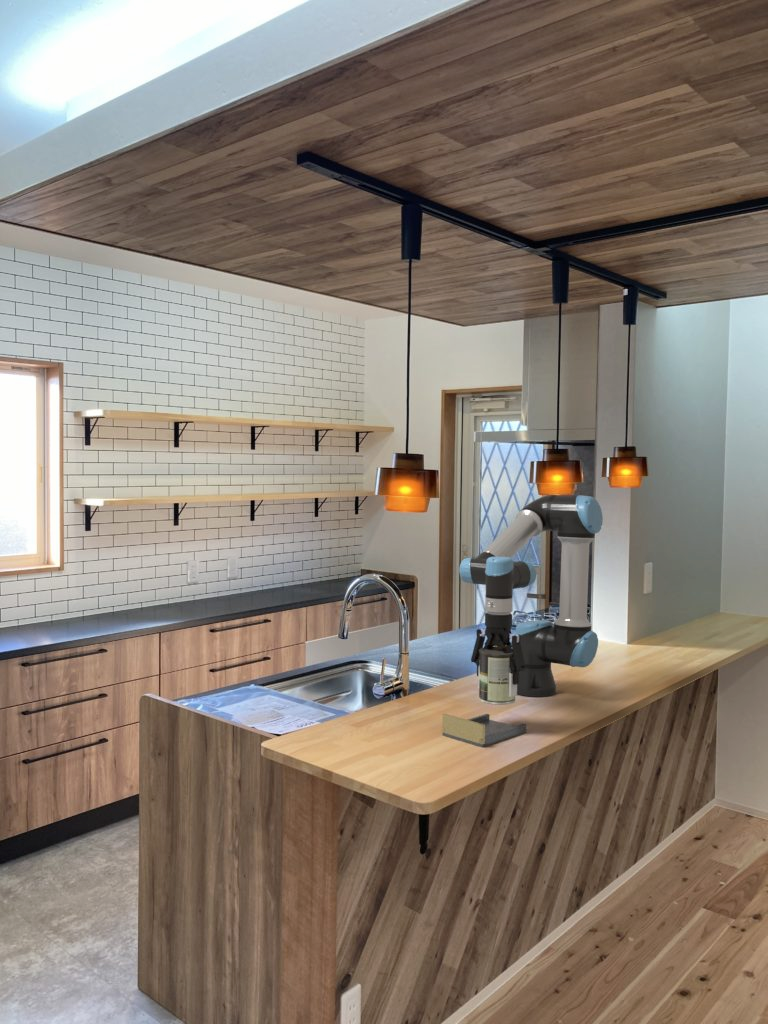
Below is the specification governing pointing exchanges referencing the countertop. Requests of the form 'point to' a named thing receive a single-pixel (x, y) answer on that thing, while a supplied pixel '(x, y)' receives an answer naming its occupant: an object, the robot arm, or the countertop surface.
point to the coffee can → (494, 677)
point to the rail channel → (479, 730)
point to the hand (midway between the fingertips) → (497, 692)
